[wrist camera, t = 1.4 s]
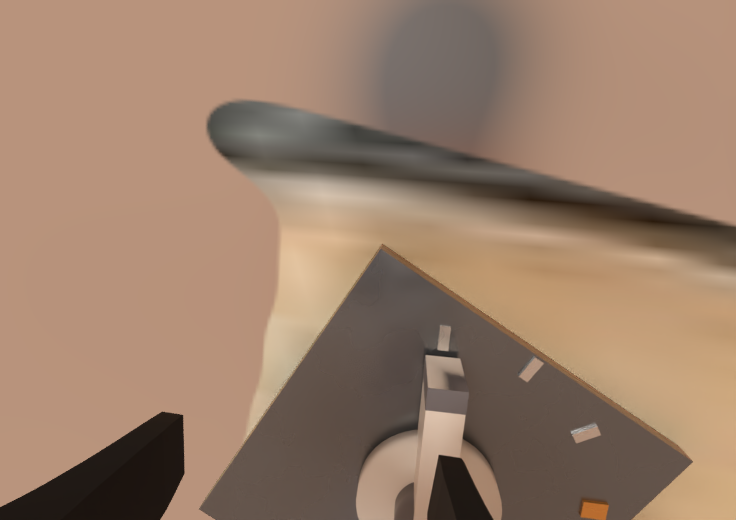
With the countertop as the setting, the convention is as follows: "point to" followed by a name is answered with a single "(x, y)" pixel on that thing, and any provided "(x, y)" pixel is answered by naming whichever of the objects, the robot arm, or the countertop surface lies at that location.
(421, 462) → the dial
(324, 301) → the countertop surface
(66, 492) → the robot arm
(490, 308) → the countertop surface
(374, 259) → the dial plate
